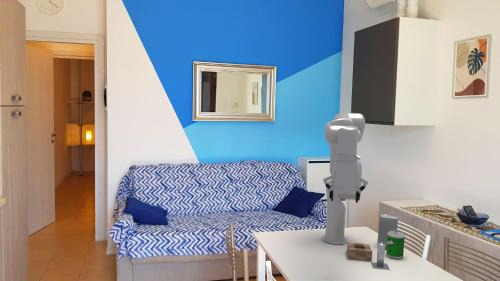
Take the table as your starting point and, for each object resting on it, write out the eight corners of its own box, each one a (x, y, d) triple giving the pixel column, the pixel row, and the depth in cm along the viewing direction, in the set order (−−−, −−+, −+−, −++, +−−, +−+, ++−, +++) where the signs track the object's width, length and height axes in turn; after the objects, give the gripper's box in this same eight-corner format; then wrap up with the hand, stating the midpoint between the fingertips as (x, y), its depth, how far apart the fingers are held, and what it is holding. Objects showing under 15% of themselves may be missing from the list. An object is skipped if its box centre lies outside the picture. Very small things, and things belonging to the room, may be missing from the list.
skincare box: (378, 248, 193) (380, 217, 191) (377, 244, 200) (378, 213, 198) (396, 250, 191) (398, 218, 189) (394, 245, 198) (396, 215, 196)
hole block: (346, 252, 186) (347, 242, 186) (368, 254, 184) (369, 244, 184) (348, 260, 176) (349, 249, 176) (371, 262, 175) (372, 251, 174)
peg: (376, 264, 172) (377, 242, 171) (383, 264, 171) (384, 242, 171) (377, 266, 169) (378, 244, 168) (384, 267, 168) (385, 244, 168)
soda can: (402, 255, 184) (403, 230, 183) (404, 261, 177) (405, 235, 176) (385, 253, 186) (386, 228, 185) (386, 259, 179) (388, 233, 178)
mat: (370, 262, 174) (370, 262, 174) (387, 264, 173) (387, 263, 173) (372, 269, 167) (372, 268, 167) (390, 270, 166) (390, 269, 166)
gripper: (367, 158, 157) (365, 200, 158) (323, 156, 160) (321, 197, 161) (370, 160, 149) (367, 205, 151) (324, 158, 152) (322, 201, 154)
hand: (344, 201), depth 156 cm, fingers open, 9 cm apart
